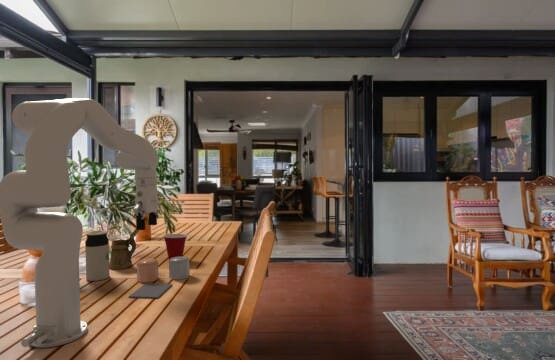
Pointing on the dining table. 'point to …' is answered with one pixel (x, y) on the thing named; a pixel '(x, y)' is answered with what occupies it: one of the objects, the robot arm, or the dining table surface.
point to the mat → (150, 291)
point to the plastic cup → (175, 244)
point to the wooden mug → (122, 252)
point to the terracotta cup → (147, 270)
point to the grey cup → (179, 267)
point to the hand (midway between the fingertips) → (147, 227)
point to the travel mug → (97, 255)
